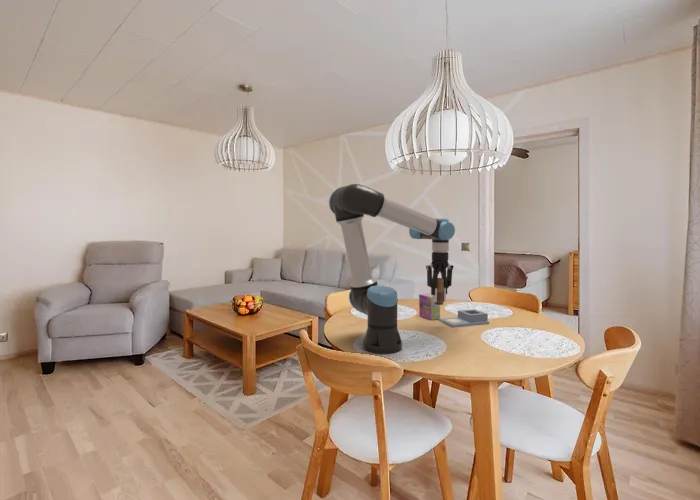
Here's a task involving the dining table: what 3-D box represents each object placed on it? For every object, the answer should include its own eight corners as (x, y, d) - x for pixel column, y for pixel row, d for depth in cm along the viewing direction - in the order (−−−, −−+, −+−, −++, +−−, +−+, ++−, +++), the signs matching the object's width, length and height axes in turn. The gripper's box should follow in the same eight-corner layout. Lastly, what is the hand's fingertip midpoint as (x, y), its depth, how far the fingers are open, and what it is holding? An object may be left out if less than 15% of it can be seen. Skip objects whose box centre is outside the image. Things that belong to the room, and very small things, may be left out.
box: (418, 315, 185) (418, 293, 184) (427, 314, 187) (427, 292, 187) (431, 320, 176) (431, 297, 175) (440, 319, 178) (440, 296, 177)
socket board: (488, 323, 168) (489, 314, 168) (452, 327, 163) (452, 317, 162) (473, 317, 180) (473, 308, 179) (439, 321, 174) (439, 311, 174)
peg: (444, 304, 162) (445, 278, 161) (437, 305, 161) (437, 279, 160) (440, 302, 166) (441, 277, 165) (432, 303, 165) (433, 278, 164)
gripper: (451, 251, 168) (450, 299, 169) (419, 251, 163) (418, 300, 164) (460, 252, 161) (459, 302, 162) (427, 252, 156) (426, 304, 157)
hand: (438, 301), depth 163 cm, fingers closed on peg, 4 cm apart
